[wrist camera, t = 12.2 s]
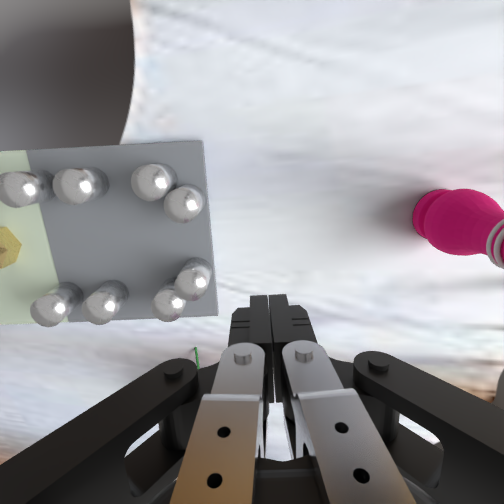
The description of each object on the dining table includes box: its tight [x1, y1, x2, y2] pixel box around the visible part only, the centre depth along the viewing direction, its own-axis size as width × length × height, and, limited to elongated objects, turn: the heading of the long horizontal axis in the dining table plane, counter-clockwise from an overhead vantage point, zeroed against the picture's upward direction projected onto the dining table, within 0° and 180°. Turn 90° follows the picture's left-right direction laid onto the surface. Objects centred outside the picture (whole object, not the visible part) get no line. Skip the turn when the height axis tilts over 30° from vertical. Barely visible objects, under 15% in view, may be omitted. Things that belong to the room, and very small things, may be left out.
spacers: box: [0, 163, 212, 327], centre depth 37 cm, size 18×21×5 cm
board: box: [0, 141, 218, 325], centre depth 40 cm, size 22×32×1 cm
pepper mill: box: [413, 189, 504, 269], centre depth 30 cm, size 7×7×20 cm
